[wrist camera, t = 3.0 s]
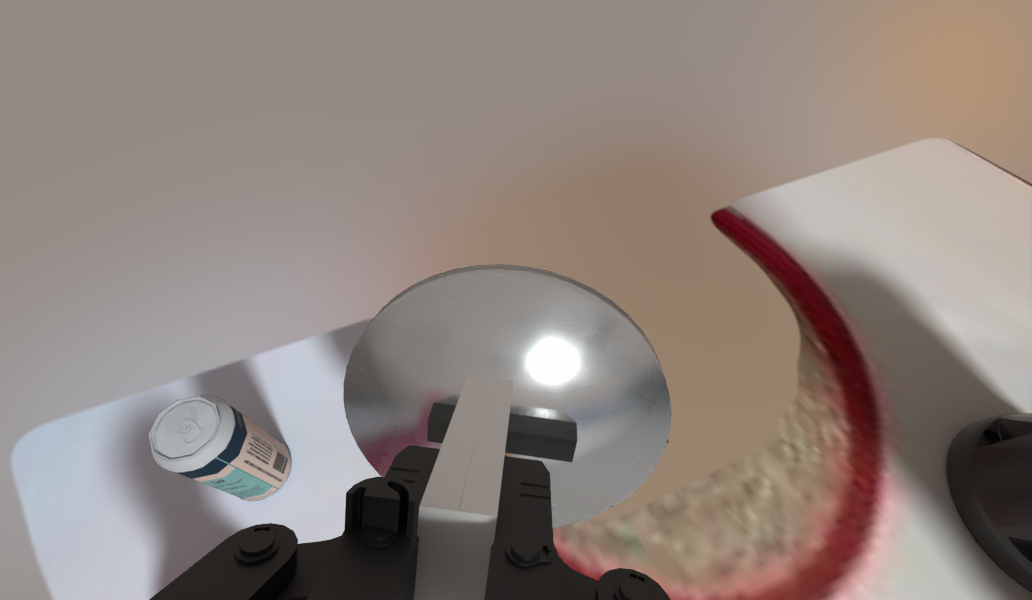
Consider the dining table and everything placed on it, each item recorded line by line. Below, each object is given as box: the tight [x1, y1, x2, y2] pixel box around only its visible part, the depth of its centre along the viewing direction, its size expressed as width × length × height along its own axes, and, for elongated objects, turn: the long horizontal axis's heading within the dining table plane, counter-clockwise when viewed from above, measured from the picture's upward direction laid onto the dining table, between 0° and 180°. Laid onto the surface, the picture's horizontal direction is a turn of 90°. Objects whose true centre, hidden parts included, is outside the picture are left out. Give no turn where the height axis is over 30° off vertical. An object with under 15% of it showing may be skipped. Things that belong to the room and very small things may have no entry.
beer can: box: [149, 395, 292, 501], centre depth 34 cm, size 5×5×12 cm
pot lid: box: [344, 264, 671, 528], centre depth 24 cm, size 16×17×3 cm
